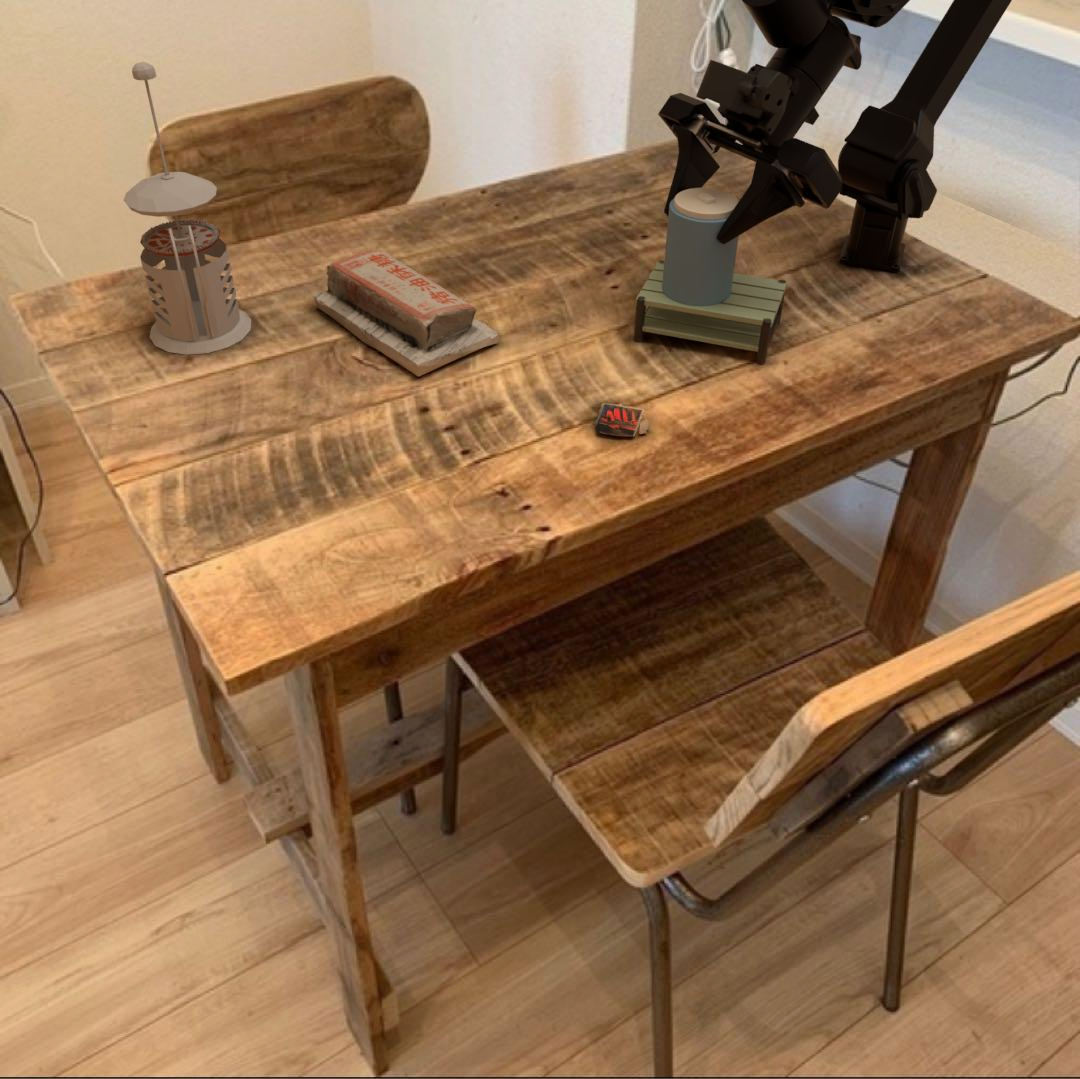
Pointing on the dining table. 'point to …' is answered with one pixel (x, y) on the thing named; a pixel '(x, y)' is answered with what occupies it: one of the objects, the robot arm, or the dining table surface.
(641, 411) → the matchbox
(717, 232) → the tissue tub
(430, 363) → the packaged product
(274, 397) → the dining table surface
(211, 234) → the french press
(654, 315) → the rack
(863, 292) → the dining table surface
